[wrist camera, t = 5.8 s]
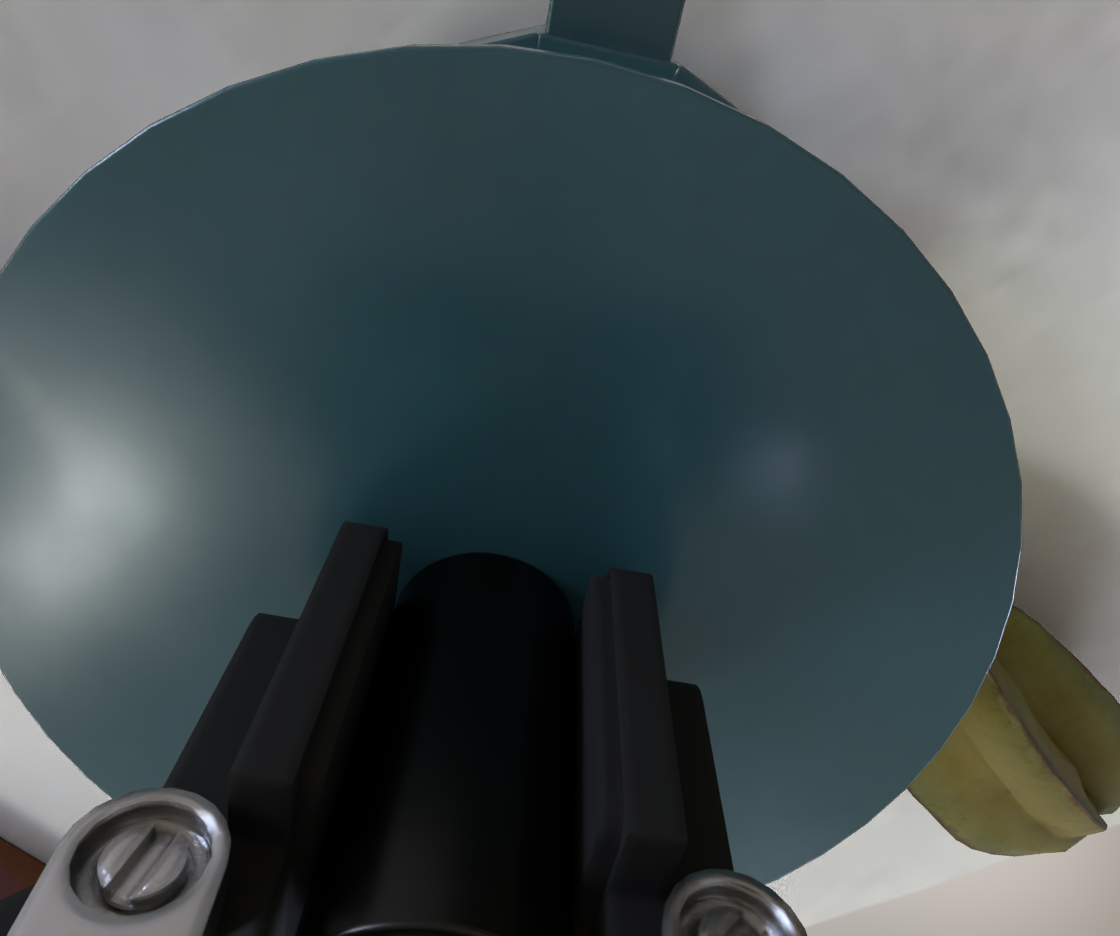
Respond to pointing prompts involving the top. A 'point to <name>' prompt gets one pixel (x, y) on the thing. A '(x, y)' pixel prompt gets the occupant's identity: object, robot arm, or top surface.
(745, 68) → the top surface
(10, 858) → the book
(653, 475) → the pot lid
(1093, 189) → the top surface
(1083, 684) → the fruit
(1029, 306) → the top surface
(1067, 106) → the top surface
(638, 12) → the pot
